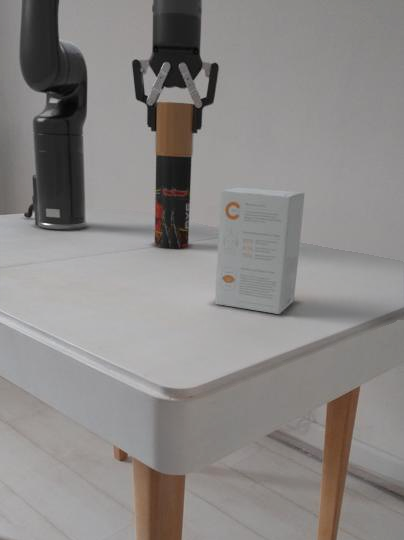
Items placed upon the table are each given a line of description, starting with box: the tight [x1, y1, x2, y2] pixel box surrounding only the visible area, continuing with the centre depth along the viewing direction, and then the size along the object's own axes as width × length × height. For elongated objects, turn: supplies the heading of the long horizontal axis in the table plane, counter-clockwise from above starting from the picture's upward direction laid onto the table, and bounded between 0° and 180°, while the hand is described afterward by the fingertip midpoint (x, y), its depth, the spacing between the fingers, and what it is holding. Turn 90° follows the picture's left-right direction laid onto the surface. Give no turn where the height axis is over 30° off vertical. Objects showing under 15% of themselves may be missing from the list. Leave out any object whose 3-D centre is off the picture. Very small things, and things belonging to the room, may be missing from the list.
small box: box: [214, 187, 305, 315], centre depth 65 cm, size 8×6×13 cm
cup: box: [154, 101, 195, 158], centre depth 93 cm, size 6×6×8 cm
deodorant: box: [154, 155, 193, 250], centre depth 97 cm, size 6×6×15 cm
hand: (174, 131), depth 93 cm, fingers closed on cup, 6 cm apart
